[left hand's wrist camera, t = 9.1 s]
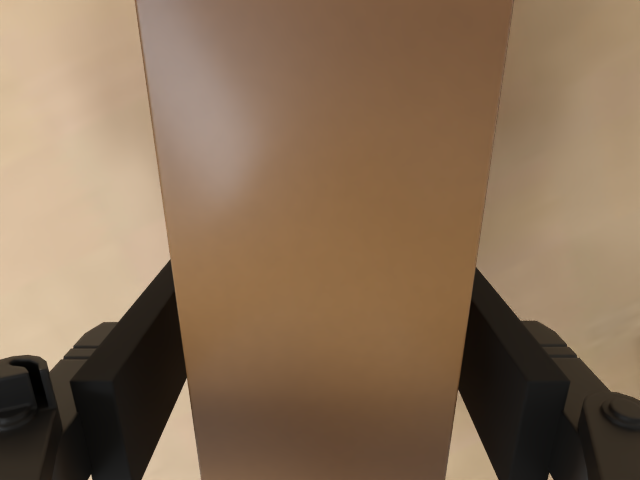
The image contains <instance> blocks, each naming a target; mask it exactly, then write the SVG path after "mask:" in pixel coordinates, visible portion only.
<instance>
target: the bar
mask: <svg viewBox="0 0 640 480" xmlns="http://www.w3.org/2000/svg"><path fill="white" fill-rule="evenodd" d="M513 4H514V0H135V6H136V13H137V20H138V27H139V34H140V42H141V49H142V56H143V63H144V71H145V78H146V85H147V92H148V99H149V107H150V114H151V121H152V128H153V135H154V143H155V150H156V157H157V164H158V171H159V179H160V186H161V193H162V200H163V208H164V215H165V222H166V229H167V236H168V244H169V251H170V258H171V265H172V272H173V280H174V287H175V294H176V301H177V308H178V316H179V323H180V330H181V337H182V345H183V352H184V359H185V366H186V373H187V381H188V388H189V395H190V402H191V409H192V417H193V424H194V431H195V438H196V446H197V453H198V460H199V467H200V474H201V480H445V477H446V470H447V463H448V456H449V449H450V442H451V435H452V428H453V421H454V414H455V407H456V400H457V393H458V386H459V379H460V372H461V365H462V358H463V351H464V344H465V338H466V331H467V324H468V317H469V310H470V303H471V296H472V289H473V282H474V275H475V268H476V261H477V254H478V247H479V240H480V233H481V226H482V219H483V212H484V205H485V198H486V191H487V185H488V178H489V171H490V164H491V157H492V150H493V143H494V136H495V129H496V122H497V115H498V108H499V101H500V94H501V87H502V80H503V73H504V66H505V59H506V52H507V45H508V38H509V32H510V25H511V18H512V11H513Z"/></svg>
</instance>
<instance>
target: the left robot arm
mask: <svg viewBox="0 0 640 480" xmlns="http://www.w3.org/2000/svg"><path fill="white" fill-rule="evenodd" d="M186 378H187V373H186V366H185V359H184V352H183V345H182V337H181V330H180V323H179V316H178V308H177V301H176V294H175V287H174V280H173V272H172V265H171V259H170V260H169V262H168V263H167V264H166V265H165V267H164V268H163V269H162V270H161V271H160V273H159V274H158V275H157V276H156V277H155V279H154V280H153V281H152V282H151V283H150V285H149V286H148V287H147V288H146V289H145V291H144V292H143V293H142V294H141V295H140V297H139V298H138V299H137V300H136V302H135V303H134V304H133V305H132V306H131V308H130V309H129V310H128V311H127V312H126V314H125V315H124V316H123V317H122V318H121V320H120V321H119V322H103V323H101V324H100V325H98V326H96V327H95V328H93V329H91V330H90V331H88V332H87V333H85V334H84V335H83V336H82V337H81V338H80V340H79V341H78V342H77V343H76V344H75V345H74V346H73V349H70V350H69V351H68V353H67V354H66V355H65V356H64V359H61V360H60V361H59V362H58V363H57V364H56V366H55V367H54V368H53V369H52V370H51V371H50V372H49V370H48V366H47V362H46V361H45V360H44V359H42V358H41V357H38V356H31V355H22V356H12V357H9V358H5V359H1V360H0V480H88V478H89V477H90V475H92V479H93V480H141V479H142V477H143V475H144V473H145V470H146V468H147V466H148V464H149V461H150V459H151V457H152V455H153V452H154V450H155V448H156V446H157V444H158V441H159V439H160V437H161V435H162V432H163V430H164V428H165V426H166V423H167V421H168V419H169V417H170V414H171V412H172V410H173V408H174V405H175V403H176V401H177V399H178V396H179V394H180V392H181V390H182V387H183V385H184V383H185V381H186ZM458 390H459V392H460V394H461V396H462V399H463V401H464V403H465V405H466V408H467V410H468V412H469V414H470V417H471V419H472V421H473V423H474V426H475V428H476V430H477V432H478V435H479V437H480V439H481V441H482V444H483V446H484V448H485V450H486V452H487V455H488V457H489V459H490V461H491V464H492V466H493V468H494V470H495V473H496V475H497V477H498V479H499V480H548V475H549V473H550V474H551V476H552V478H553V479H554V480H640V401H639V400H637V399H635V398H633V397H630V396H627V395H624V394H620V393H617V392H611V391H610V390H609V389H608V388H607V387H606V386H605V385H604V384H603V383H602V382H601V381H600V380H599V379H598V377H597V376H596V375H595V374H594V373H593V372H592V371H591V370H590V369H589V368H588V367H587V366H586V365H585V363H584V362H583V361H582V360H581V359H580V358H577V355H576V354H575V353H574V352H573V351H572V350H571V348H570V347H567V344H566V343H565V342H564V341H563V340H562V339H561V338H560V337H559V336H558V334H557V333H556V332H555V331H553V330H551V329H550V328H548V327H546V326H545V325H543V324H541V323H540V322H538V321H520V320H519V318H518V317H517V316H516V315H515V314H514V312H513V311H512V310H511V309H510V308H509V306H508V305H507V304H506V303H505V302H504V300H503V299H502V298H501V297H500V295H499V294H498V293H497V292H496V291H495V289H494V288H493V287H492V286H491V285H490V283H489V282H488V281H487V280H486V279H485V277H484V276H483V275H482V274H481V273H480V271H479V270H478V269H477V268H475V275H474V282H473V289H472V296H471V303H470V310H469V317H468V324H467V331H466V338H465V344H464V351H463V358H462V365H461V372H460V379H459V386H458Z"/></svg>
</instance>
